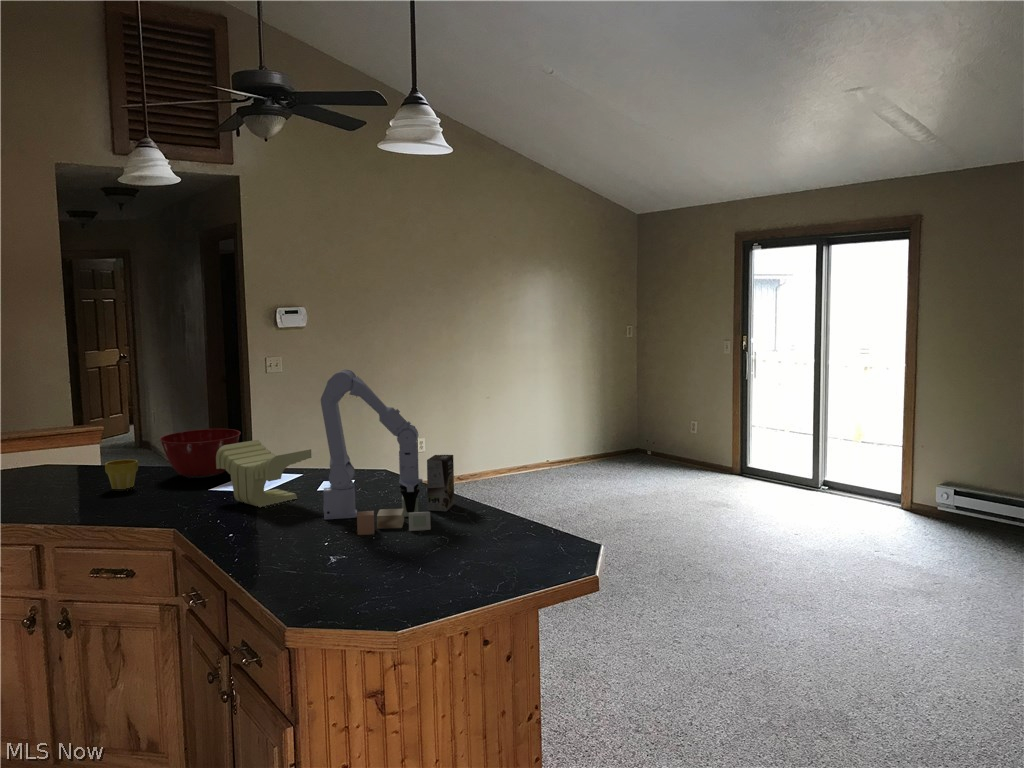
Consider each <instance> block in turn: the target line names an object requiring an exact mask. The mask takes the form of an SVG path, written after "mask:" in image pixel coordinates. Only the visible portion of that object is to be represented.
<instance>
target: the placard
mask: <svg viewBox="0 0 1024 768" xmlns="http://www.w3.org/2000/svg"><path fill="white" fill-rule="evenodd" d="M431 528H432V527H431V511H418V512H413V513H409V517H408V531H409V532H412V531H413V532H414V531H417V532H418V531H427V530H428V531H429V530H430V531H431Z"/></svg>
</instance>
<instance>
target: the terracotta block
mask: <svg viewBox="0 0 1024 768" xmlns="http://www.w3.org/2000/svg"><path fill="white" fill-rule="evenodd" d="M374 513H375V510H365V511H364V510H363V511H357V517H356V525H357V526H356V527H357V528H356V529H357V531H356V532H357V535H358V536H365V535H366V536H367V535H375V514H374Z"/></svg>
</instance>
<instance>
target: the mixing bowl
mask: <svg viewBox="0 0 1024 768" xmlns="http://www.w3.org/2000/svg"><path fill="white" fill-rule="evenodd" d="M240 435H241V431H239V430H237V429H231V428H205V429H203V428H202V429H193V430H185V431H179V432H175V433H170V434H166V435H163V436H161V437H160V438H159V441H160V443H161V445H162V447H163V451H164V454H165V457H166V458H167V459H168V461H169V463H170V465H171V466H172V468H173V469H174V470H175V472H176V473H177V474H179V475H180V476H182V475H183V476H182V477H184V476H190V477H191V476H192V477H193V476H207V475H216V474H220V473H222V474H223V473H225V472H227V471H226V469H221V468H220V469H216V453H217V451H218V450H219V448H220V447H222V446H224V445H229V444H235V443H239V440H240Z"/></svg>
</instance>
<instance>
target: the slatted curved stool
mask: <svg viewBox="0 0 1024 768" xmlns="http://www.w3.org/2000/svg"><path fill="white" fill-rule="evenodd" d="M308 459H312V449H305V450H300V451H293V452H289V453H284V454H279V455H276V454H275V453H273V452H272V451H270V450H269V449H268V448H267V447H266V446H265V445H264V444H262V442H261V441H260V439H253V440H249V441H242V442H238V443H235V444H229V445H224V446H222V447H220V448H219V450H218V451H217V453H216V469H220V468H221V469H226V471H225V472H227V474H229V475H230V481H231V484H232V491H233V496H234V497H233V498H234V499H235V500H236V501H237V502H239V501H240V503H243V502H244V503H243V504H247V505H251V506H254V507H257V506H258V507H257V508H261V507H262V506H266V505H270V504H274V503H279V502H283V501H287V500H292V499H298V497H297V494H296V493H294V492H290V491H286V490H283V489H279V488H274V489H269V490H268V489H267V490H265V485H266V482H267V481H268V482H273V481H278V480H282V476H283V473H284V470H286V469H287V467H289V466H291V465H294V464H297V463H300V462H302V461H306V460H308Z"/></svg>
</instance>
